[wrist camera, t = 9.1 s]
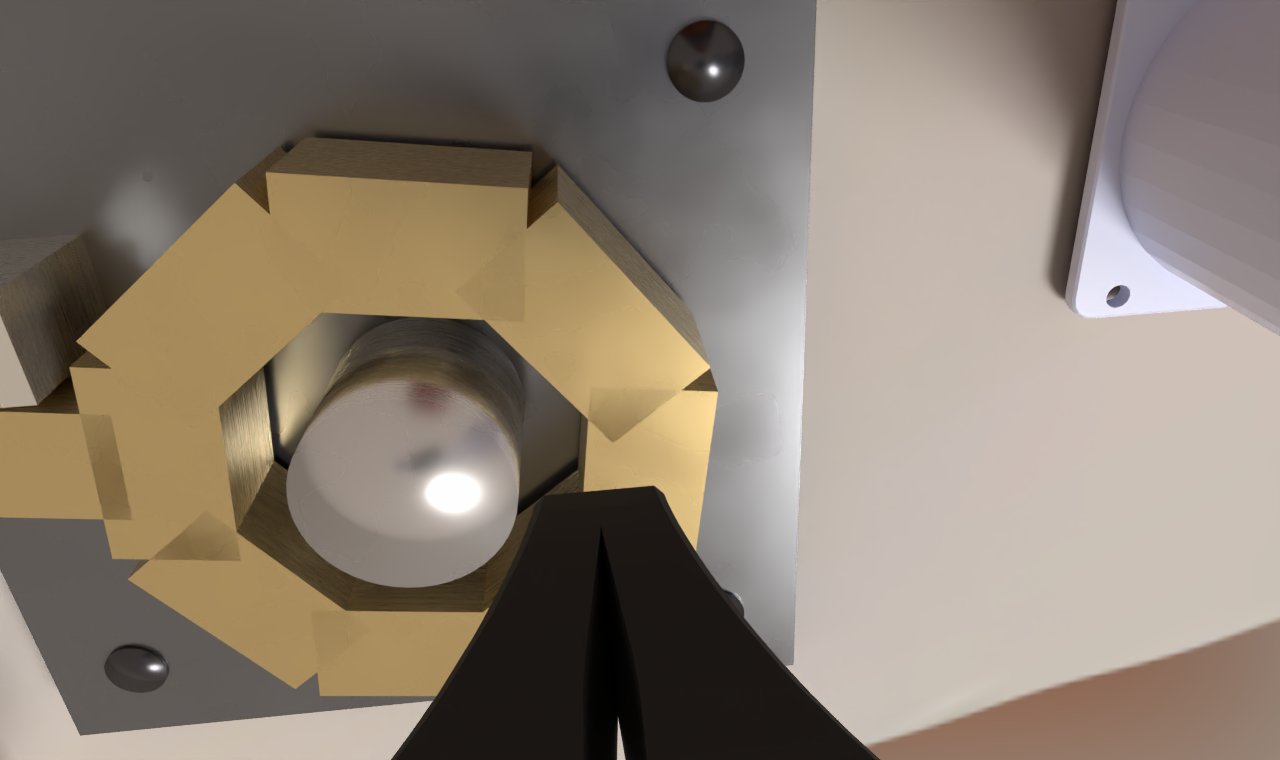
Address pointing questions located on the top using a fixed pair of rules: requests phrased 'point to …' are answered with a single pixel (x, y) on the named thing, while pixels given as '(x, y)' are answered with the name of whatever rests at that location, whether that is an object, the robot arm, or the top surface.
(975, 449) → the top surface
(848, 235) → the top surface
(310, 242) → the handled octagonal ring
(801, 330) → the flange plate
